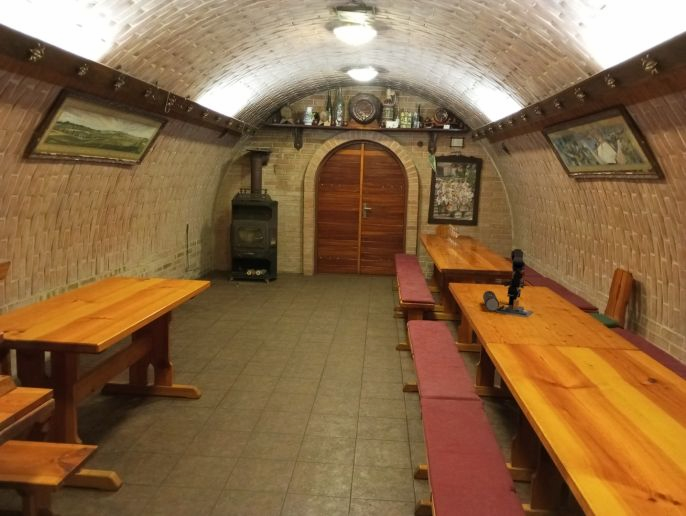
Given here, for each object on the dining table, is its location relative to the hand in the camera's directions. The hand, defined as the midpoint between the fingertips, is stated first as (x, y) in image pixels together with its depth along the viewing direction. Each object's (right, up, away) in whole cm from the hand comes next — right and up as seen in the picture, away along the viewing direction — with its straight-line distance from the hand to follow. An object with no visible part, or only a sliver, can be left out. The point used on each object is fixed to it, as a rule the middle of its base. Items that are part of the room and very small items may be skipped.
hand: (515, 299), depth 387 cm
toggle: (+2, -7, +5) cm, 9 cm away
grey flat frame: (0, -8, +2) cm, 8 cm away
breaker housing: (+2, -8, +2) cm, 9 cm away
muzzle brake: (-14, -7, +13) cm, 20 cm away
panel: (0, -9, +3) cm, 10 cm away
